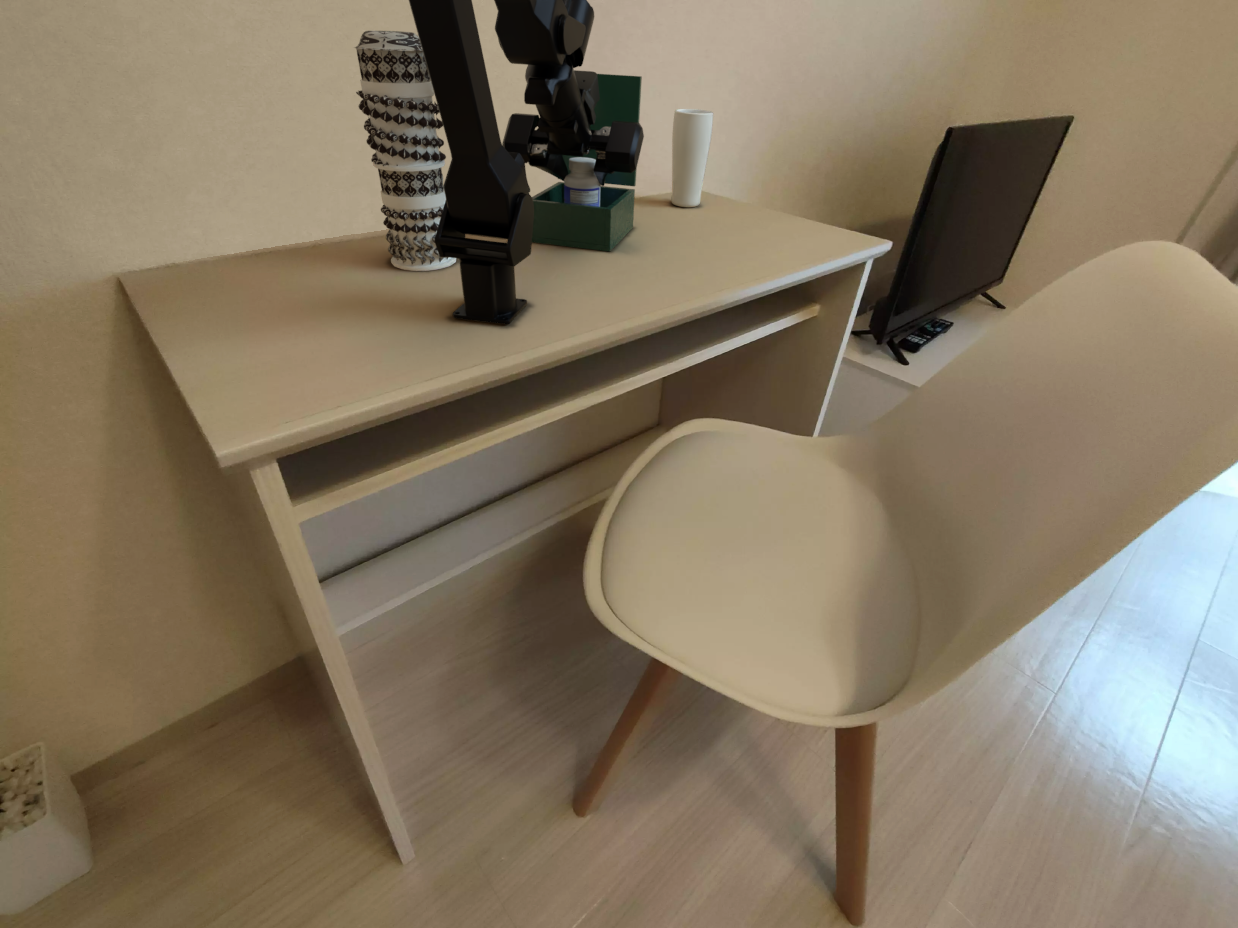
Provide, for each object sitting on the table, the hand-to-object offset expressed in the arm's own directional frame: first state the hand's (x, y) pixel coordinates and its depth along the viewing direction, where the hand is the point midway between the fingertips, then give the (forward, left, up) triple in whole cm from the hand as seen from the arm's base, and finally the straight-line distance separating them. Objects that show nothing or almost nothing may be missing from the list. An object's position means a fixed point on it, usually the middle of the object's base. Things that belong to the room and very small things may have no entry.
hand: (585, 181), depth 91 cm
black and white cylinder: (-20, +17, -8) cm, 27 cm away
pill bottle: (-1, 0, -7) cm, 7 cm away
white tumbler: (+24, -13, -8) cm, 28 cm away
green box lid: (+5, 0, +6) cm, 8 cm away
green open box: (-1, 0, -7) cm, 8 cm away
